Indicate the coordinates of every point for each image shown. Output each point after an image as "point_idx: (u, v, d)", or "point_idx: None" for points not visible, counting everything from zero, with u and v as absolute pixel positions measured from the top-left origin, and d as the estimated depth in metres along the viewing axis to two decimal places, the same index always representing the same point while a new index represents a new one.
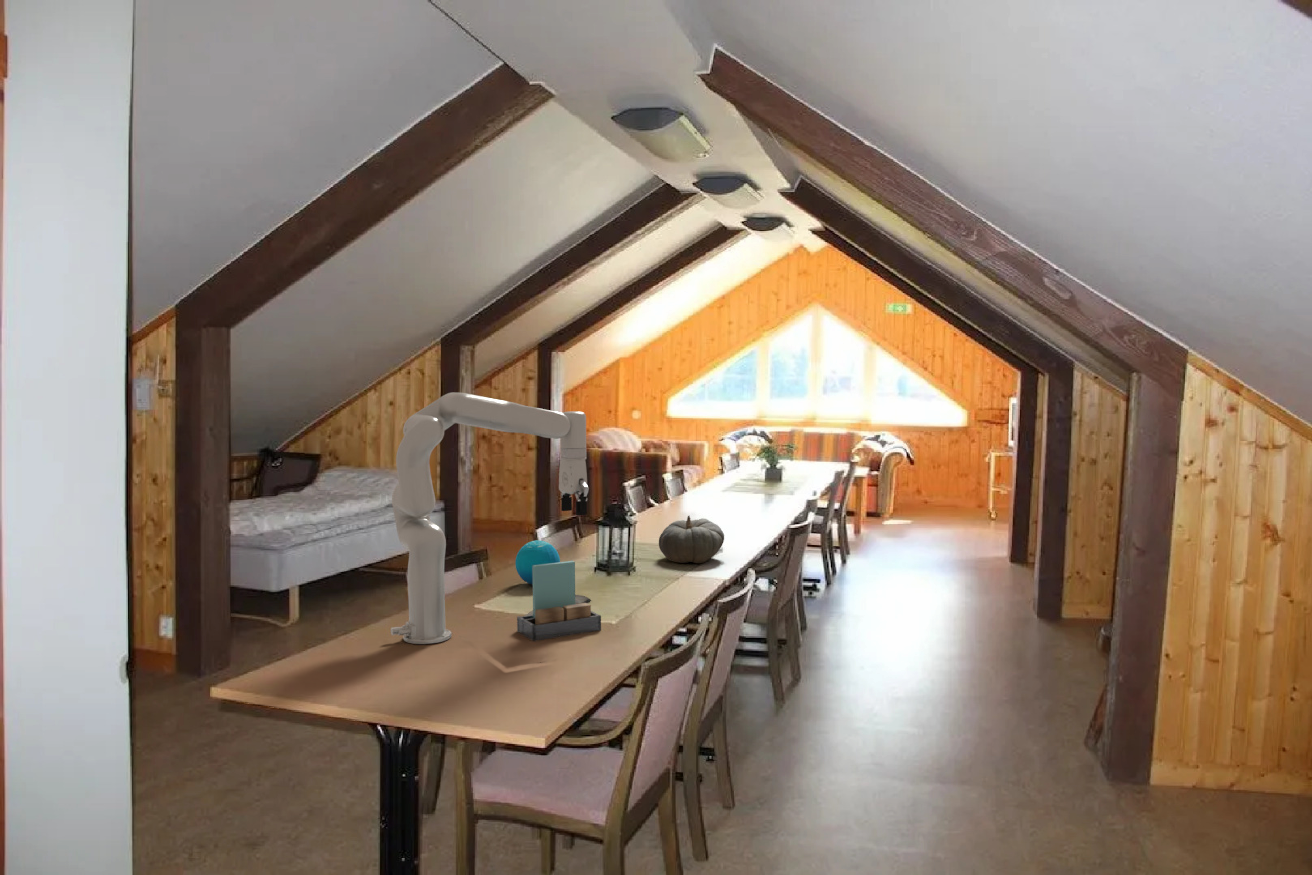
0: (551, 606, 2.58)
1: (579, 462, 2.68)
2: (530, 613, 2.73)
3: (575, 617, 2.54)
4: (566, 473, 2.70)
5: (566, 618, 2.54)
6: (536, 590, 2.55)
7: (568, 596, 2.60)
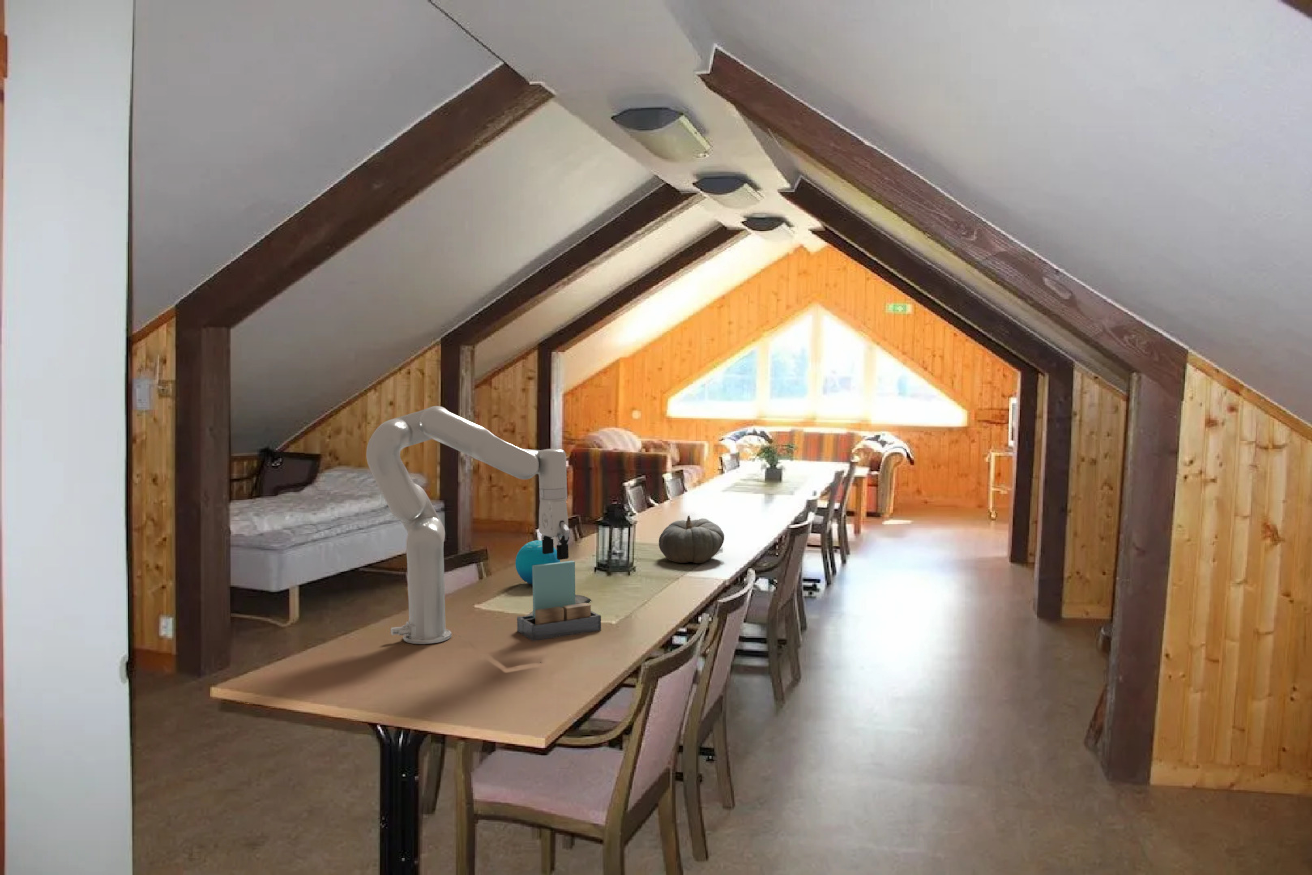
0: (551, 606, 2.58)
1: (559, 503, 2.53)
2: (531, 613, 2.73)
3: (575, 617, 2.54)
4: (546, 515, 2.55)
5: (566, 618, 2.54)
6: (536, 590, 2.55)
7: (568, 596, 2.60)
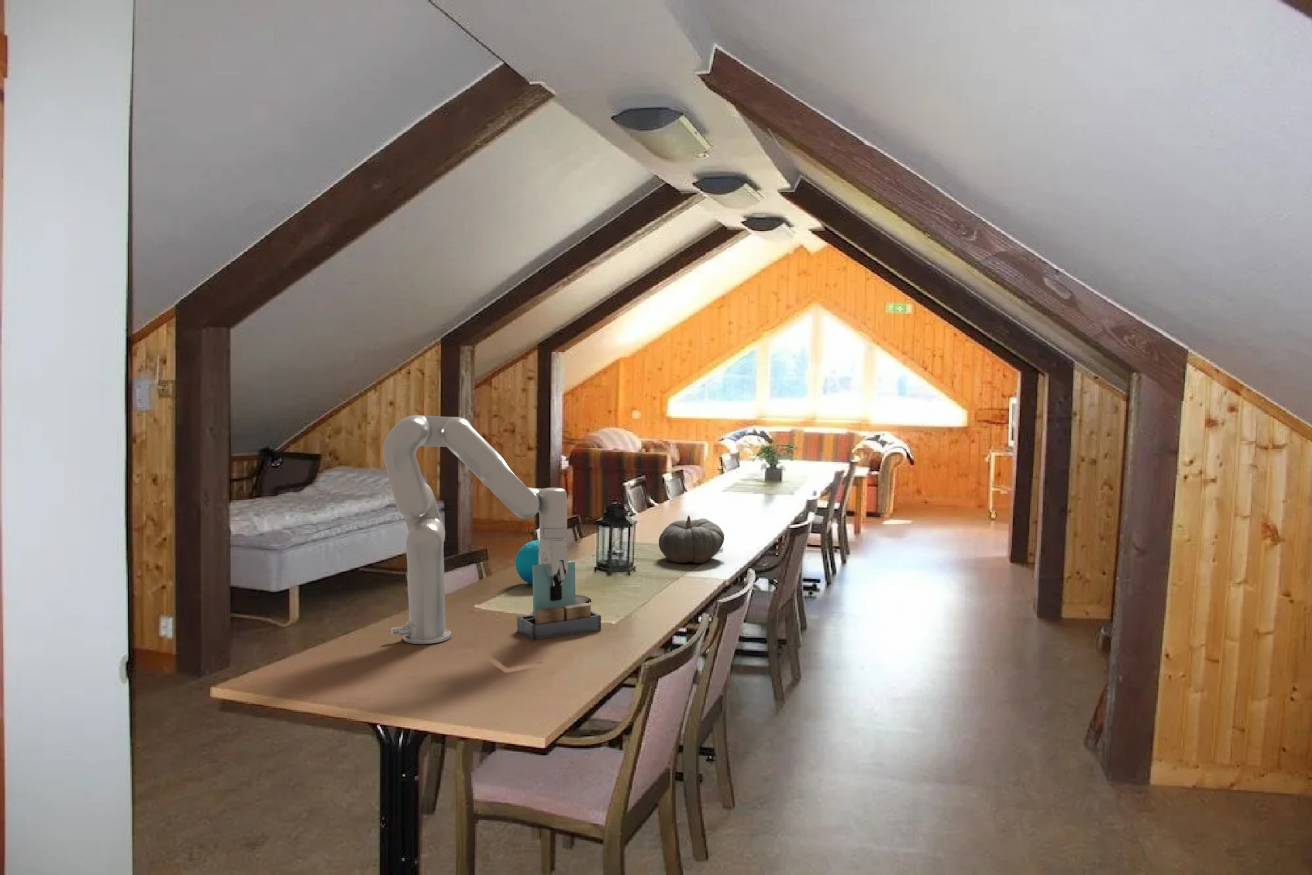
0: (551, 606, 2.58)
1: (559, 542, 2.54)
2: (532, 614, 2.73)
3: (575, 617, 2.54)
4: (546, 554, 2.56)
5: (566, 618, 2.54)
6: (536, 590, 2.55)
7: (568, 596, 2.60)
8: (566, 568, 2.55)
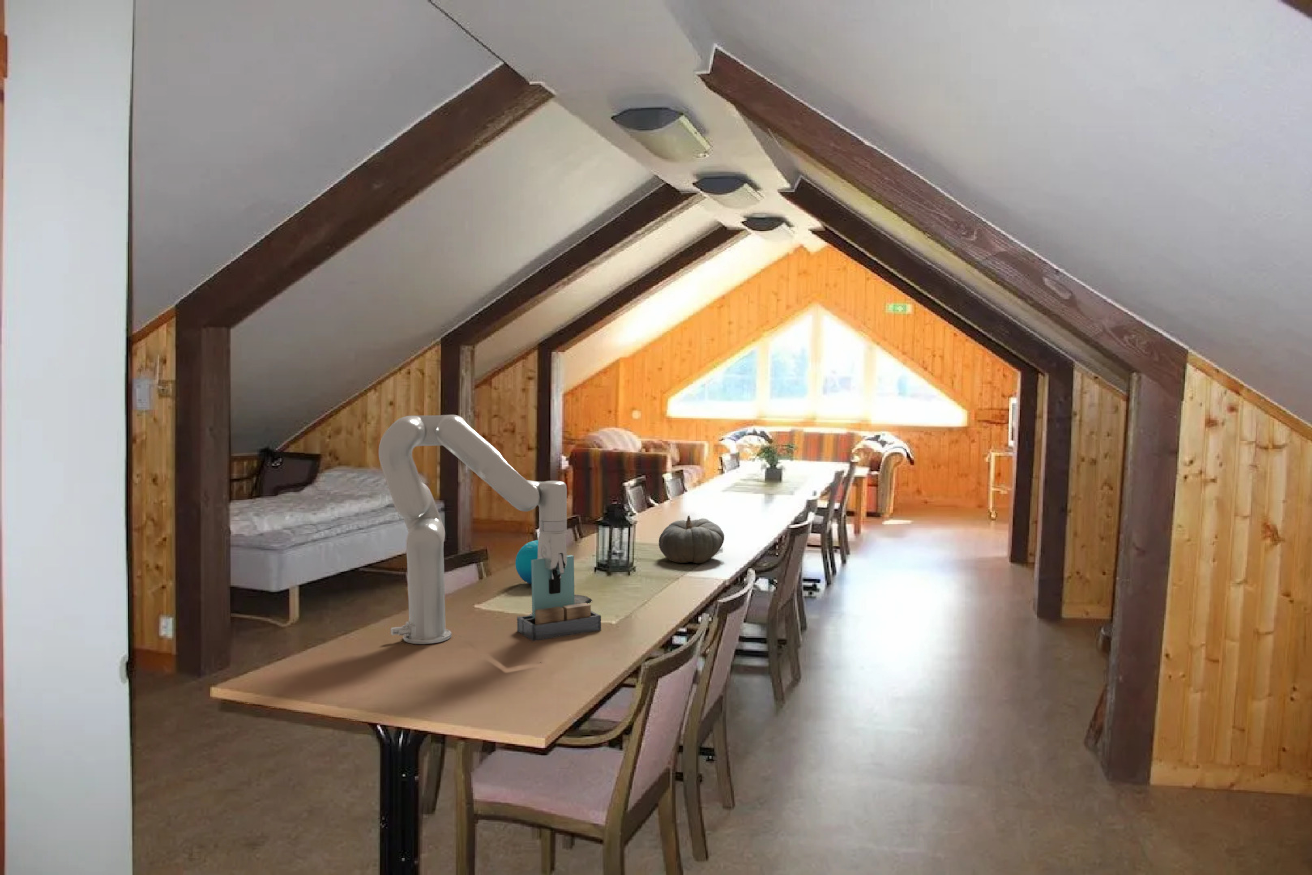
0: (550, 600, 2.58)
1: (558, 535, 2.54)
2: None
3: (575, 617, 2.54)
4: (545, 547, 2.56)
5: (566, 618, 2.54)
6: (535, 584, 2.55)
7: (567, 590, 2.60)
8: (565, 561, 2.55)
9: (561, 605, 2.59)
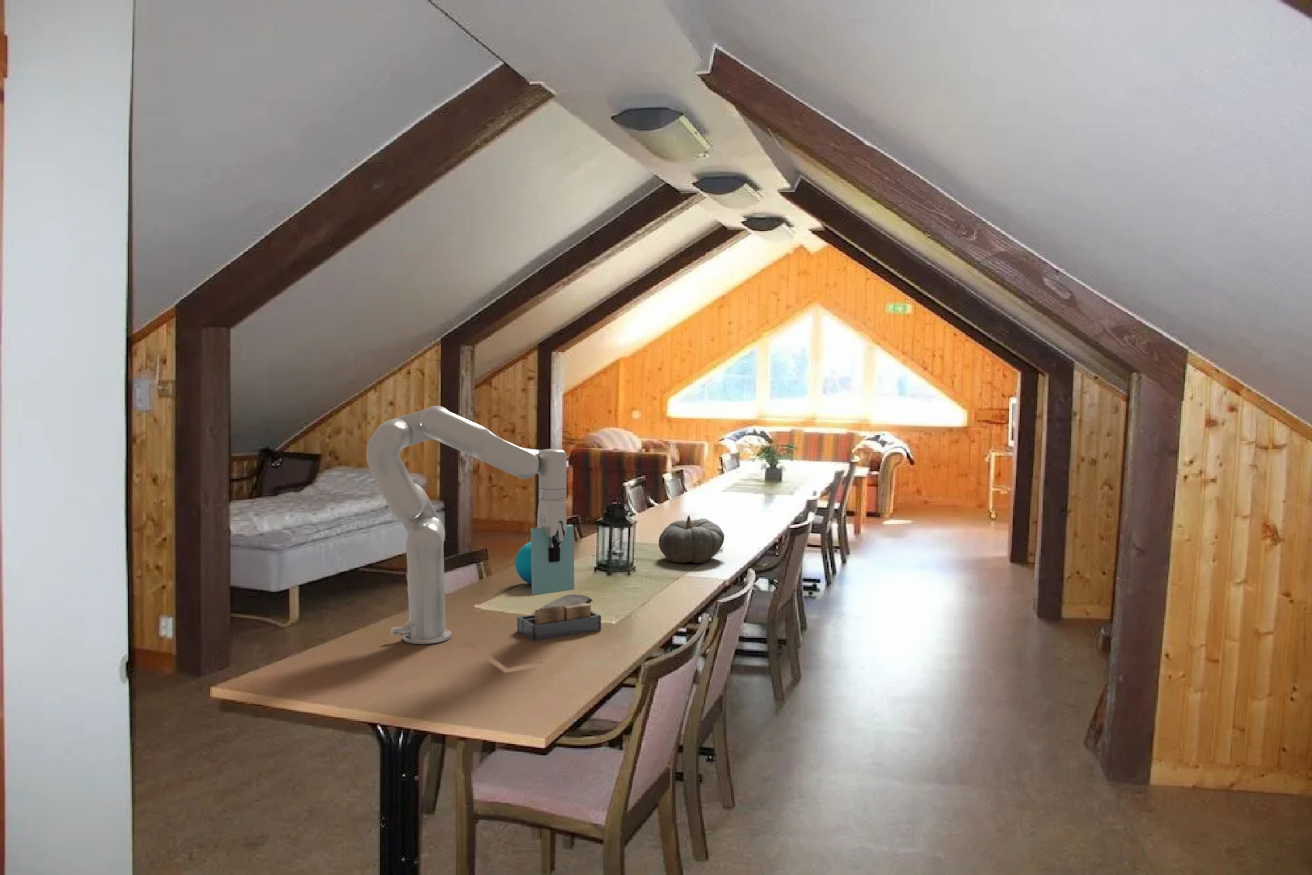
0: (550, 570, 2.57)
1: (558, 503, 2.53)
2: (534, 614, 2.72)
3: (575, 617, 2.54)
4: (544, 515, 2.55)
5: (566, 618, 2.54)
6: (534, 553, 2.55)
7: (567, 560, 2.59)
8: (565, 529, 2.54)
9: (561, 574, 2.59)
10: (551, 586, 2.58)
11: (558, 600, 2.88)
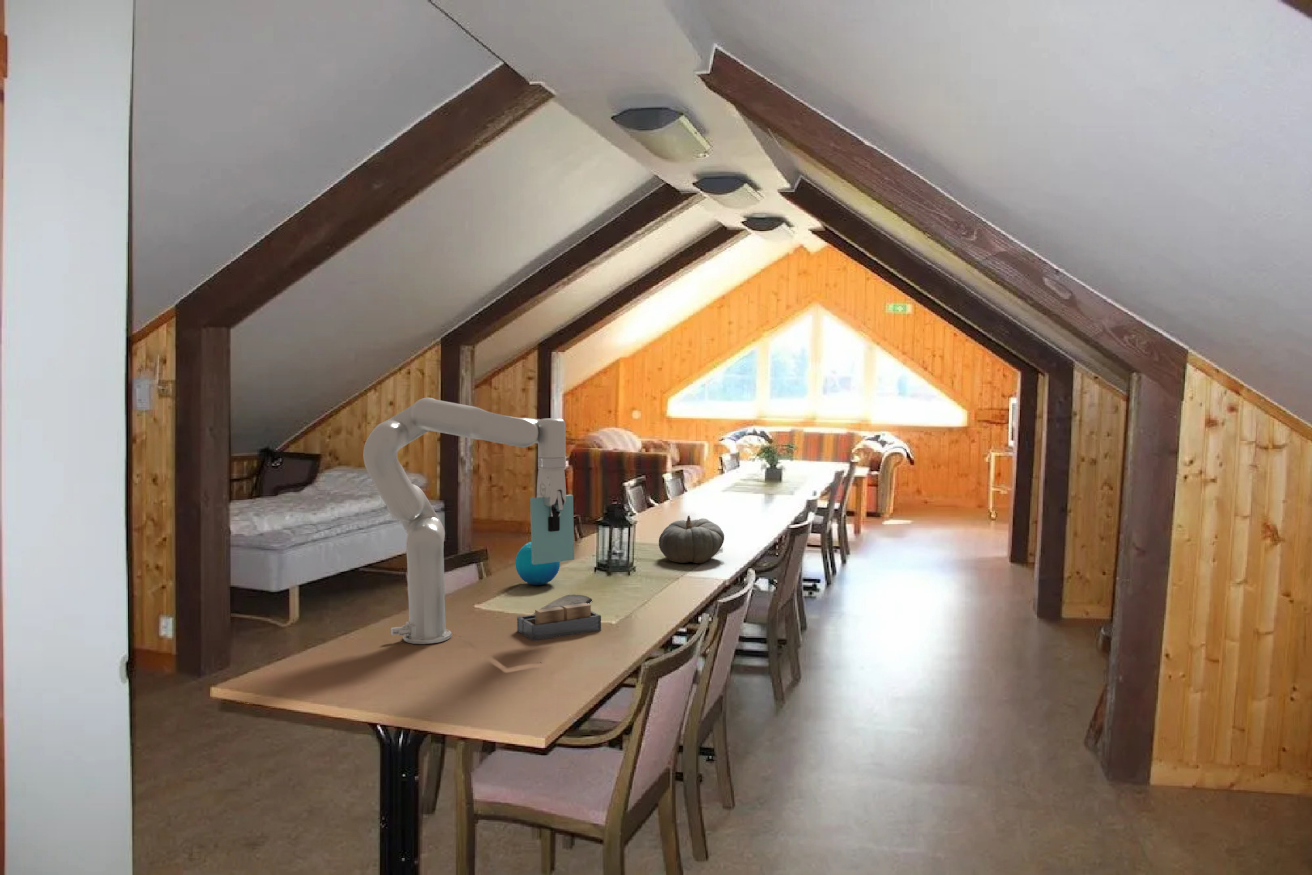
0: (549, 539, 2.57)
1: (557, 472, 2.53)
2: None
3: (575, 617, 2.54)
4: (544, 484, 2.55)
5: (566, 618, 2.54)
6: (534, 523, 2.54)
7: (566, 530, 2.59)
8: (564, 498, 2.54)
9: (560, 544, 2.58)
10: (550, 556, 2.57)
11: (558, 600, 2.88)
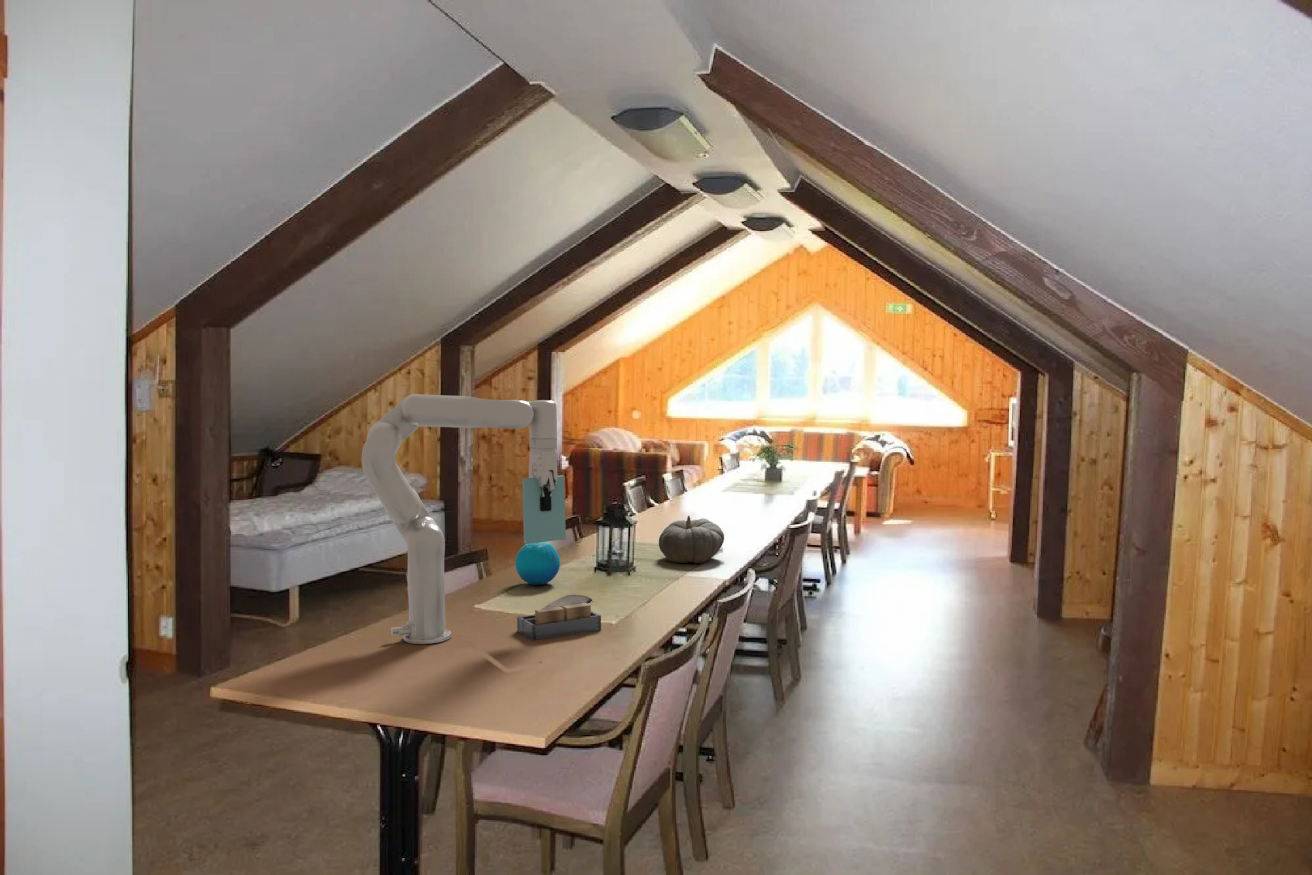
0: (541, 519, 2.61)
1: (549, 452, 2.57)
2: None
3: (575, 617, 2.54)
4: (535, 464, 2.59)
5: (566, 618, 2.54)
6: (526, 503, 2.59)
7: (558, 510, 2.64)
8: (556, 478, 2.58)
9: (552, 524, 2.63)
10: (542, 535, 2.62)
11: (559, 600, 2.88)
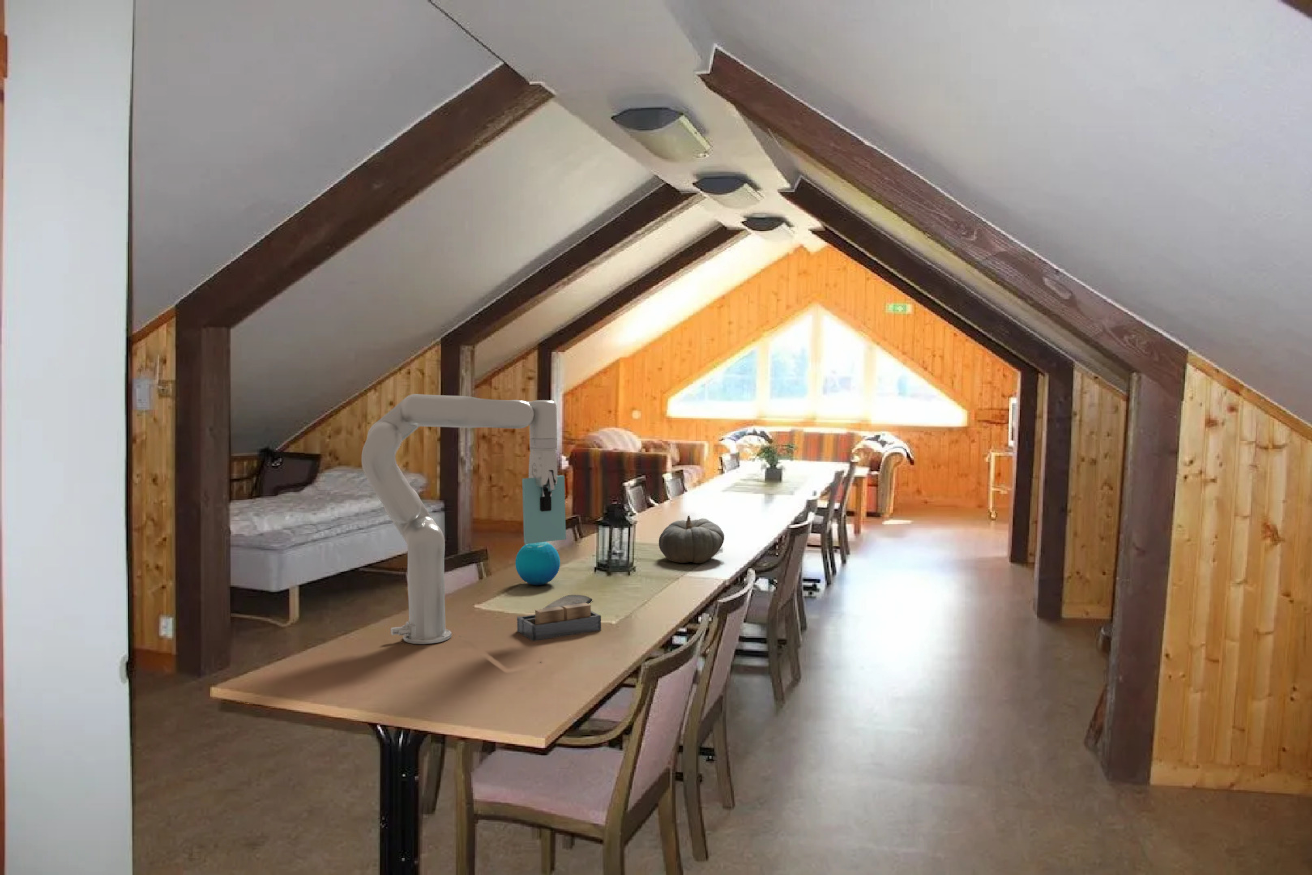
0: (541, 519, 2.61)
1: (549, 452, 2.57)
2: None
3: (575, 617, 2.54)
4: (535, 464, 2.59)
5: (566, 618, 2.54)
6: (526, 503, 2.59)
7: (558, 510, 2.64)
8: (556, 478, 2.58)
9: (552, 524, 2.63)
10: (542, 535, 2.62)
11: (559, 600, 2.87)
